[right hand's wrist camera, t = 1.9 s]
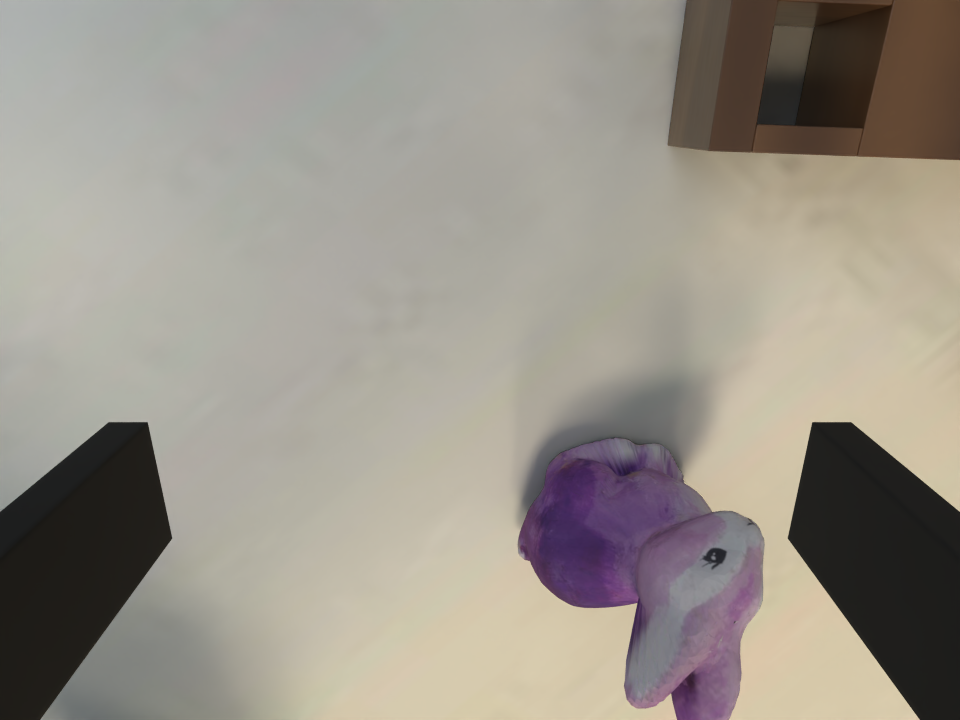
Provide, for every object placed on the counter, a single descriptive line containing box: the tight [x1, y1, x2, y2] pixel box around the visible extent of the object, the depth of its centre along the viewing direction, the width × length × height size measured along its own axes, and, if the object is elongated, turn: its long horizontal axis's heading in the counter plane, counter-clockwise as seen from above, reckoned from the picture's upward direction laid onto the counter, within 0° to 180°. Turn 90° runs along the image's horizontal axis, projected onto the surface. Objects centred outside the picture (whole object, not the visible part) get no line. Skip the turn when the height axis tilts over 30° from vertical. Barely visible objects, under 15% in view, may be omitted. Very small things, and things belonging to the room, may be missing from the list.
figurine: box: [518, 438, 764, 720], centre depth 31 cm, size 9×10×15 cm
